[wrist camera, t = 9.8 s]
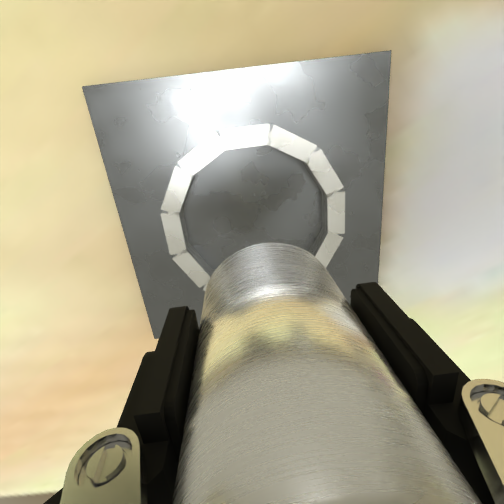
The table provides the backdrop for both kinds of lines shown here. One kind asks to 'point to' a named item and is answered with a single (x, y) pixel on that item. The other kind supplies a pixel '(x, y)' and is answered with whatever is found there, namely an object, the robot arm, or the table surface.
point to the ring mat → (246, 169)
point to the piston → (300, 398)
